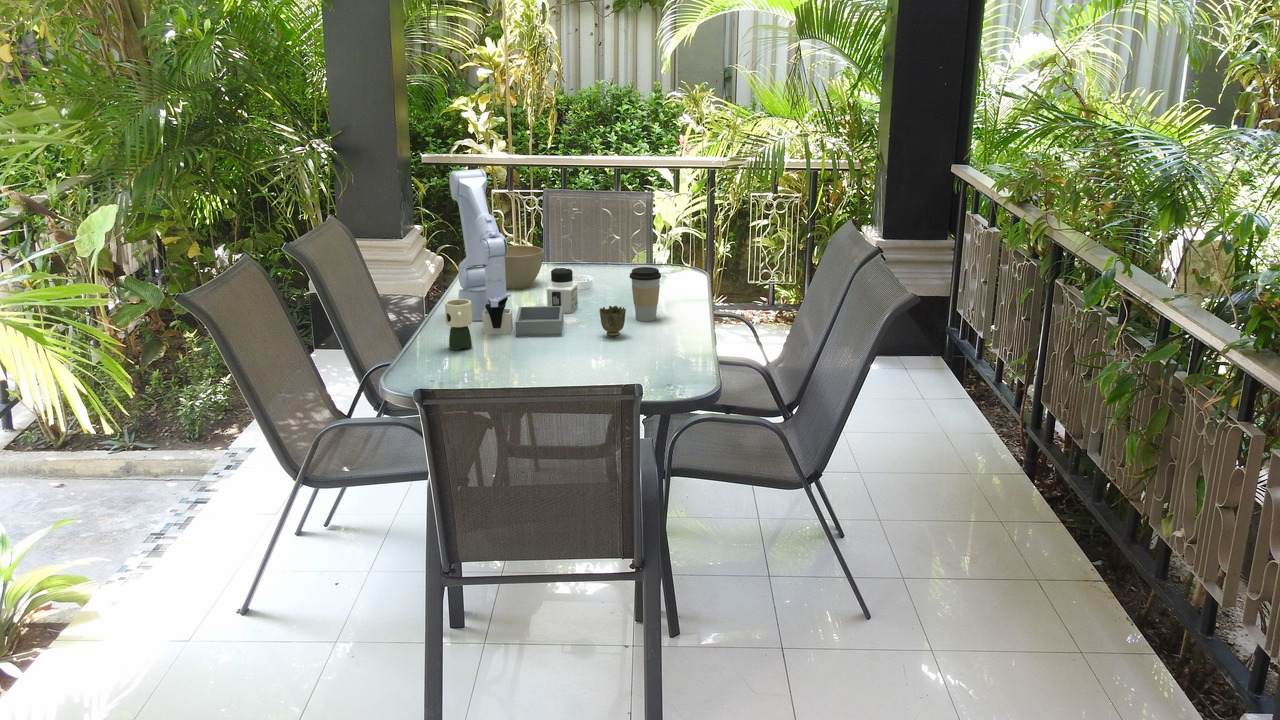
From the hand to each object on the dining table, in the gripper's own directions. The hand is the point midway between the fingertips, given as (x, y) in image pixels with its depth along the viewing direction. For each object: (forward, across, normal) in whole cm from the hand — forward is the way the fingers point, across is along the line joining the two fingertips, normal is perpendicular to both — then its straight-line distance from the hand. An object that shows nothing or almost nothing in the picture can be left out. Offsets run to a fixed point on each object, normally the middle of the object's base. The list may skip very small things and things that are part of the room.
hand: (497, 325), depth 308 cm
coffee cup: (+2, +10, -43) cm, 44 cm away
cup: (+2, -7, -33) cm, 34 cm away
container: (+2, +22, -18) cm, 29 cm away
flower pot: (+2, +53, -2) cm, 53 cm away
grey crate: (+2, +2, -12) cm, 12 cm away
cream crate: (+2, 0, 0) cm, 2 cm away
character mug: (+2, -15, +9) cm, 18 cm away
